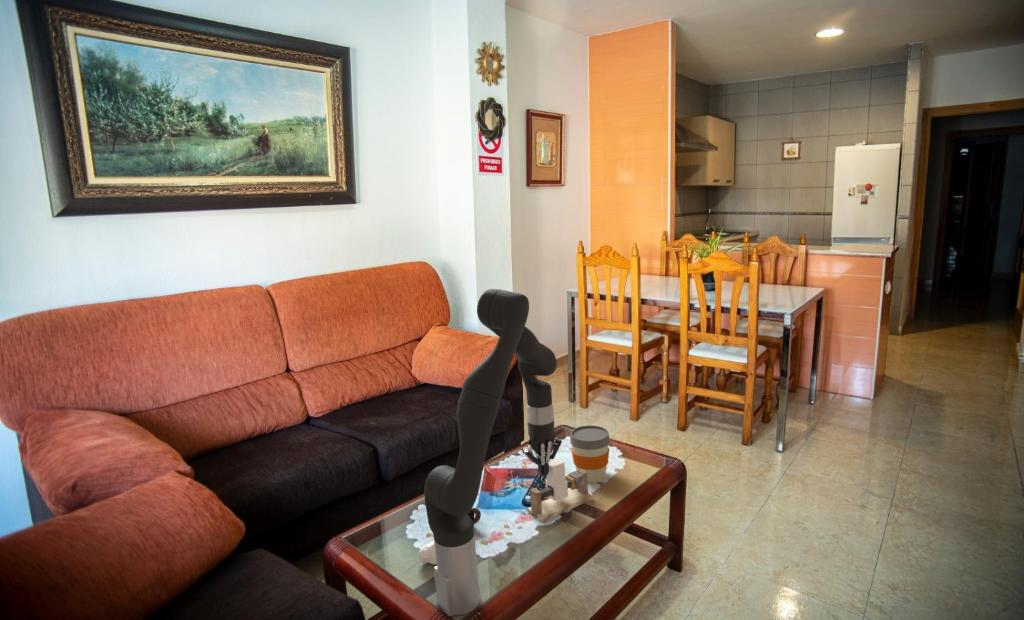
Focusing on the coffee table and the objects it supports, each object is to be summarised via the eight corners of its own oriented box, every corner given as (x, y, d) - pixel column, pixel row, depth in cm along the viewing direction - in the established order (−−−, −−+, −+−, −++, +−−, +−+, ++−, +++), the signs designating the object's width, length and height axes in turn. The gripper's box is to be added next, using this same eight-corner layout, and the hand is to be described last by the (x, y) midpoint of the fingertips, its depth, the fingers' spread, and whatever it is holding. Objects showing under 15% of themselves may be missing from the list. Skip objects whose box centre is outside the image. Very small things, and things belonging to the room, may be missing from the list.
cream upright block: (556, 501, 174) (554, 468, 172) (546, 494, 178) (544, 462, 176) (568, 496, 177) (566, 463, 174) (557, 490, 181) (556, 457, 178)
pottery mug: (438, 536, 168) (435, 505, 171) (455, 533, 177) (452, 503, 179) (475, 531, 164) (472, 500, 167) (491, 528, 172) (488, 498, 175)
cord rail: (541, 521, 171) (540, 496, 169) (527, 511, 177) (526, 486, 175) (592, 499, 181) (591, 474, 179) (577, 490, 187) (576, 466, 185)
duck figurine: (422, 577, 154) (432, 559, 146) (410, 550, 158) (418, 531, 150) (462, 558, 160) (473, 540, 153) (449, 533, 164) (460, 513, 157)
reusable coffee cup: (617, 471, 197) (615, 428, 194) (601, 489, 186) (599, 444, 183) (582, 464, 203) (580, 422, 200) (565, 480, 193) (562, 437, 190)
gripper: (529, 429, 163) (533, 487, 167) (567, 415, 170) (570, 472, 174) (513, 421, 169) (517, 477, 173) (551, 408, 177) (554, 463, 180)
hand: (544, 474), depth 174 cm, fingers closed
